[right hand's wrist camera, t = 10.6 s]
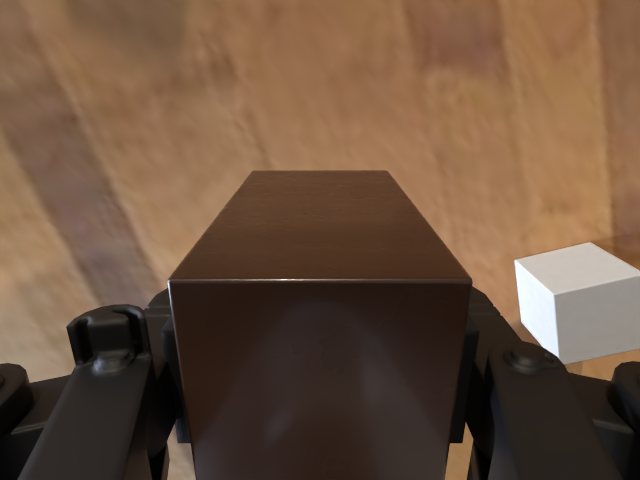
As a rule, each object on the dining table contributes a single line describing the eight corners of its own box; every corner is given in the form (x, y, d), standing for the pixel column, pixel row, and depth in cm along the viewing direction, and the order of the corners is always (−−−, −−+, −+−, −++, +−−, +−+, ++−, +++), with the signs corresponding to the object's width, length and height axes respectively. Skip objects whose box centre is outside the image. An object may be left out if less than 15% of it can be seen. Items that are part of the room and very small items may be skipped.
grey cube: (520, 322, 29) (558, 366, 25) (513, 259, 28) (552, 294, 23) (593, 306, 29) (645, 348, 24) (590, 241, 27) (646, 273, 23)
